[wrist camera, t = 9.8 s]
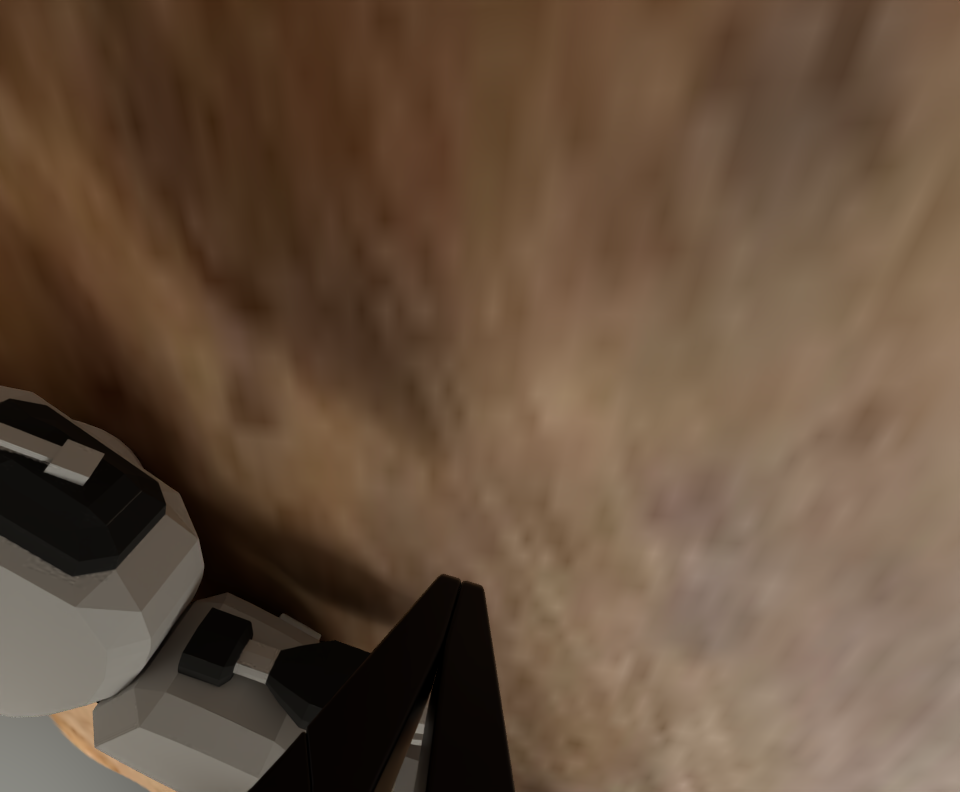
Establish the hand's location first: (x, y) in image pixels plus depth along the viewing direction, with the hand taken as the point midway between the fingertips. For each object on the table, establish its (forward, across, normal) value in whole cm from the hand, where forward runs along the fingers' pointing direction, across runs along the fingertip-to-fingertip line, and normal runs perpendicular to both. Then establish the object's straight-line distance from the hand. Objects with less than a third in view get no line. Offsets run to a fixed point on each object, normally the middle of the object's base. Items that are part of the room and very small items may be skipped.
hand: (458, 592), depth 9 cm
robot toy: (+3, +8, +6) cm, 11 cm away
